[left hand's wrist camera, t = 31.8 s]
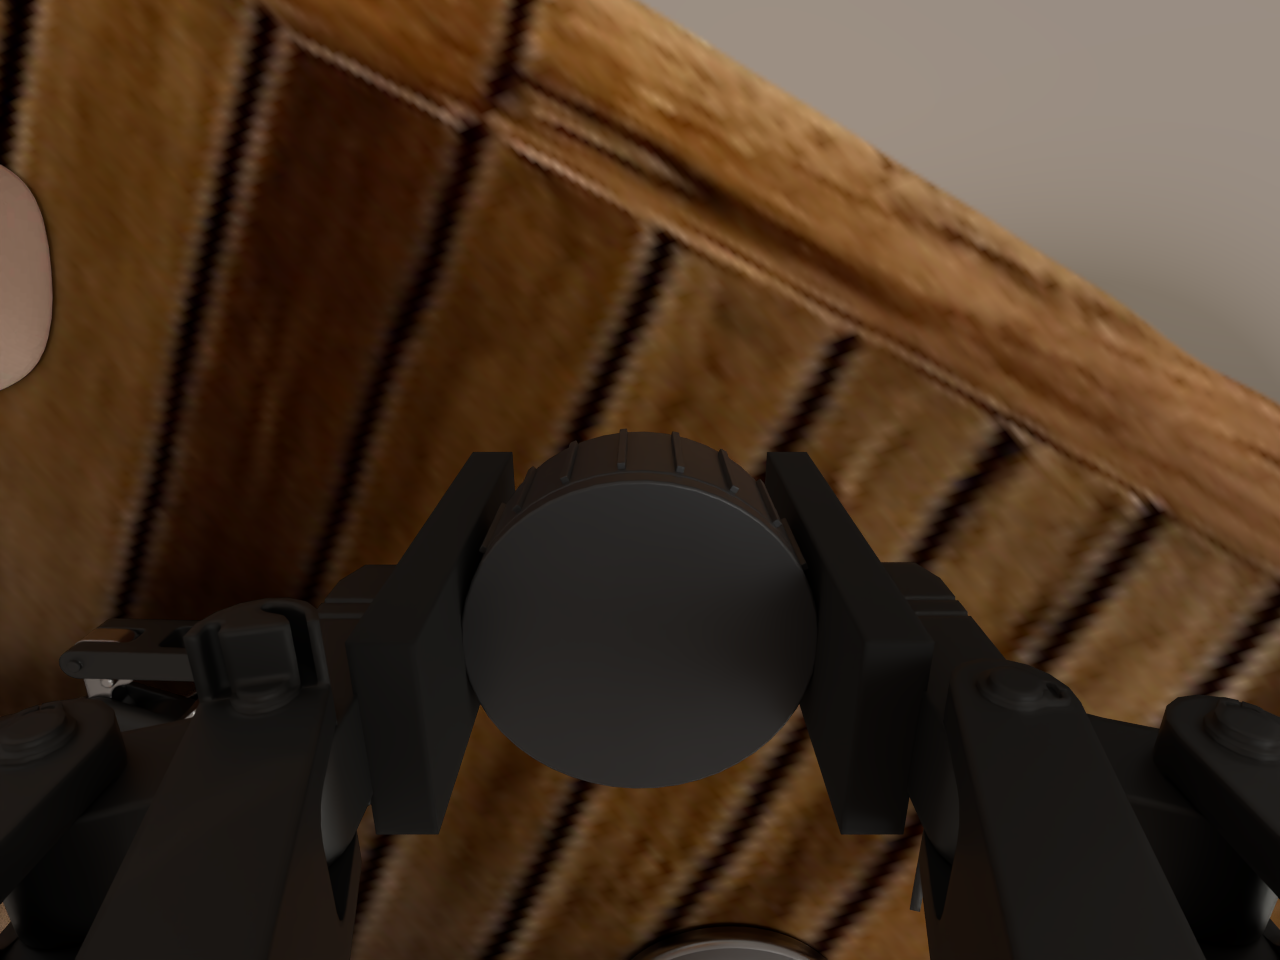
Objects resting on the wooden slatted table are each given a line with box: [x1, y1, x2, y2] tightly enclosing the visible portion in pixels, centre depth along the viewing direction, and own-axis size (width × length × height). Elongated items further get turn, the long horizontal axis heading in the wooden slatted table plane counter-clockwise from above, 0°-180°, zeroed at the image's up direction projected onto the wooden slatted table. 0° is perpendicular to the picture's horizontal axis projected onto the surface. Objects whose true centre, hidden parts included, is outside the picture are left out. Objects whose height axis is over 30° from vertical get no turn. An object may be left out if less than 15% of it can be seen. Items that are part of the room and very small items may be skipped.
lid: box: [461, 429, 818, 788], centre depth 11 cm, size 5×5×2 cm
